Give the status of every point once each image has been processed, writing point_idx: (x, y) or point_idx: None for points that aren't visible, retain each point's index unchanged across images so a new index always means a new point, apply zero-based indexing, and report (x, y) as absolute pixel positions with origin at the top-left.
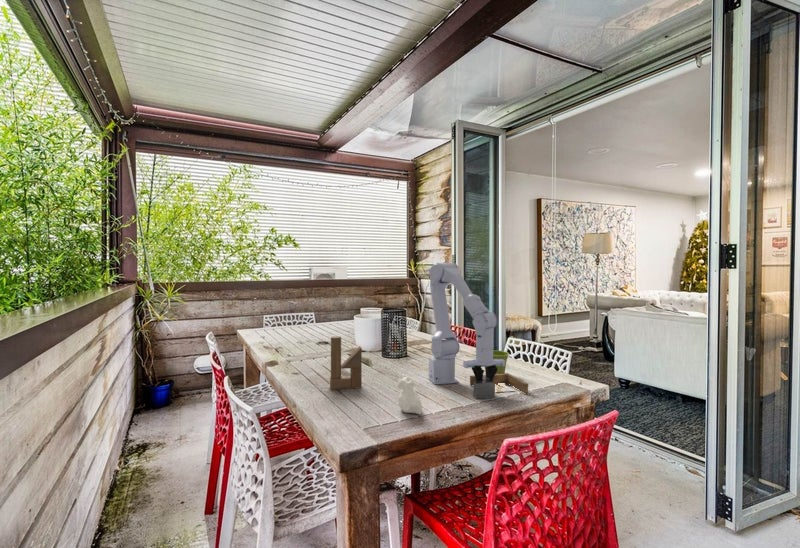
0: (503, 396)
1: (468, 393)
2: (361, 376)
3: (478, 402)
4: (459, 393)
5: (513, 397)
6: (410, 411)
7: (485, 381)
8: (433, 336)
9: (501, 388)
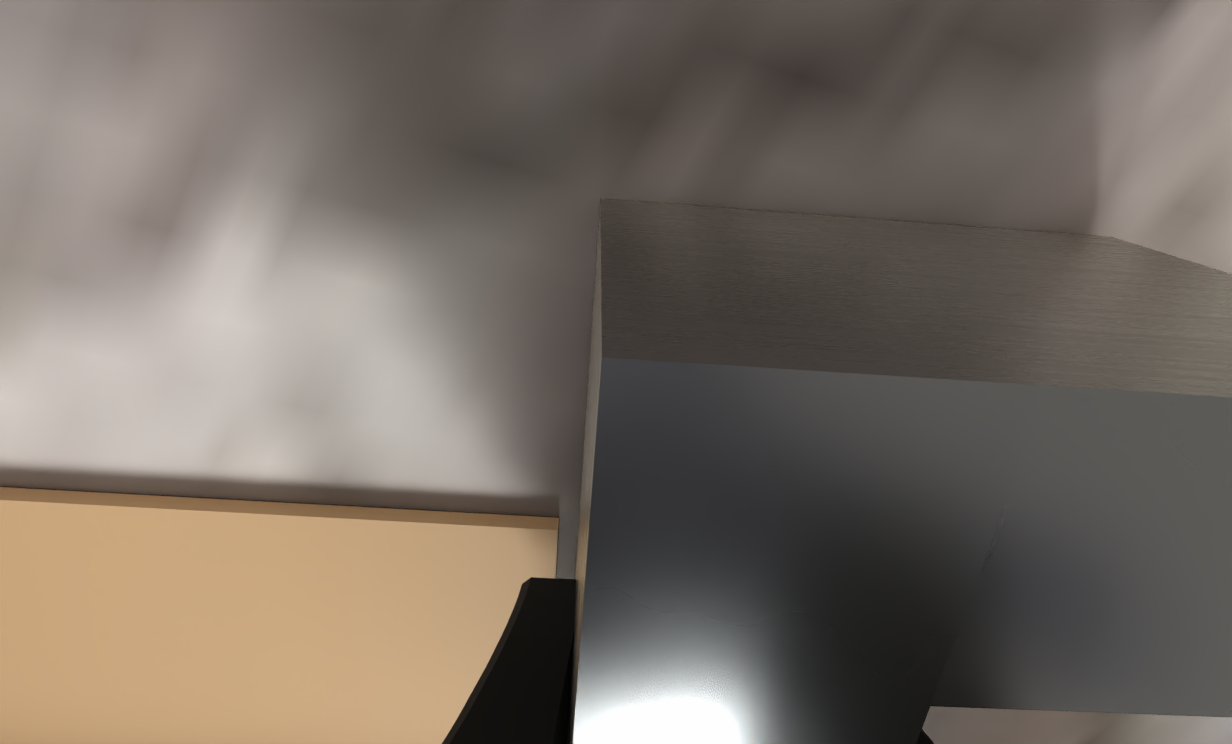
0: (306, 251)
1: None
2: None
3: (1228, 2)
4: None
5: (50, 96)
6: None
7: (1012, 592)
8: None
9: (165, 664)
